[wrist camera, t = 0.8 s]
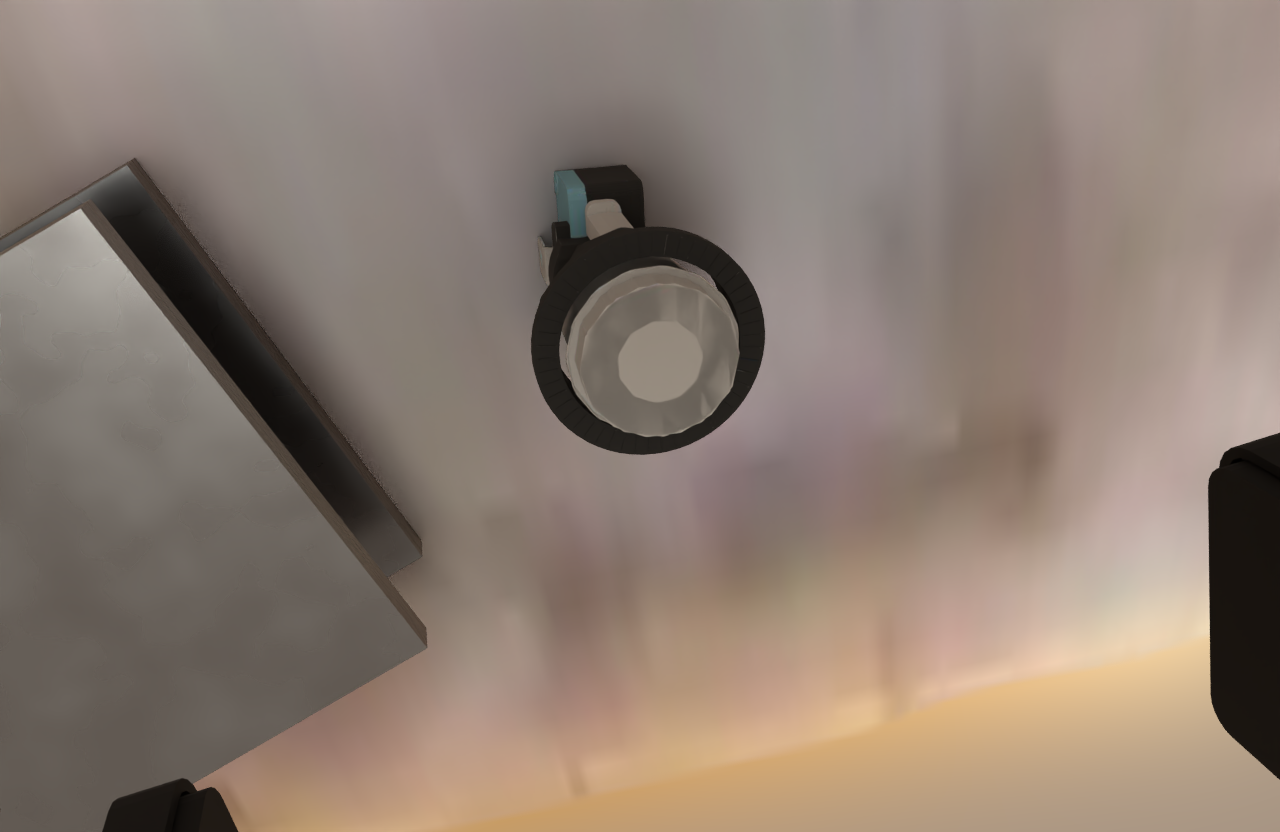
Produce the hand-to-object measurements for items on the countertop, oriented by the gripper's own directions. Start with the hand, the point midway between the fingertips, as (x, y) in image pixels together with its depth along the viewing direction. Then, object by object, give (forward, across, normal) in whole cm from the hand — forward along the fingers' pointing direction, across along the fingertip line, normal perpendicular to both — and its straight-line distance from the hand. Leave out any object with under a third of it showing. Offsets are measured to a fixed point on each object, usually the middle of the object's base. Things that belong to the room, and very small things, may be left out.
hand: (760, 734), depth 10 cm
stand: (+25, +14, +5) cm, 29 cm away
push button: (+25, -2, +3) cm, 25 cm away
